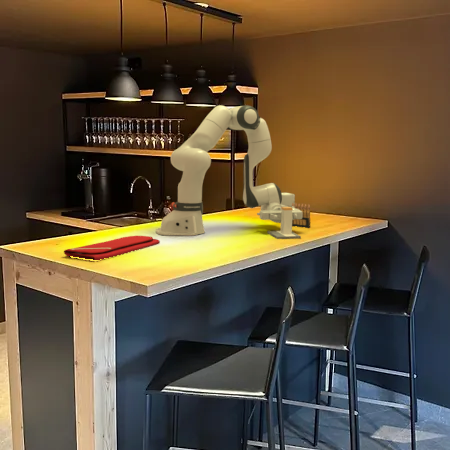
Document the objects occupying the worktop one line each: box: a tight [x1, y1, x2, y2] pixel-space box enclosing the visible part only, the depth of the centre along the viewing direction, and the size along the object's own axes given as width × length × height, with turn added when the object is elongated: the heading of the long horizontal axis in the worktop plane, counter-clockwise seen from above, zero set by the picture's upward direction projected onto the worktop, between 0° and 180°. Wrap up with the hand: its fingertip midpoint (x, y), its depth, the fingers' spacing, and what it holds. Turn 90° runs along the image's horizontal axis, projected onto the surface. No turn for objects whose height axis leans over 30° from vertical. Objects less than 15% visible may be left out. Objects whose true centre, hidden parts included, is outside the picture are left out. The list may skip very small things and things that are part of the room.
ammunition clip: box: [292, 202, 311, 229], centre depth 287 cm, size 11×2×12 cm, turn 57°
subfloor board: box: [267, 230, 302, 240], centre depth 262 cm, size 11×15×1 cm
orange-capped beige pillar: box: [280, 207, 293, 234], centre depth 260 cm, size 4×4×12 cm
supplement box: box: [278, 192, 296, 224], centre depth 303 cm, size 9×9×15 cm
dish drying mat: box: [63, 235, 161, 261], centre depth 223 cm, size 16×41×4 cm, turn 153°
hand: (285, 217), depth 261 cm, fingers open, 8 cm apart
